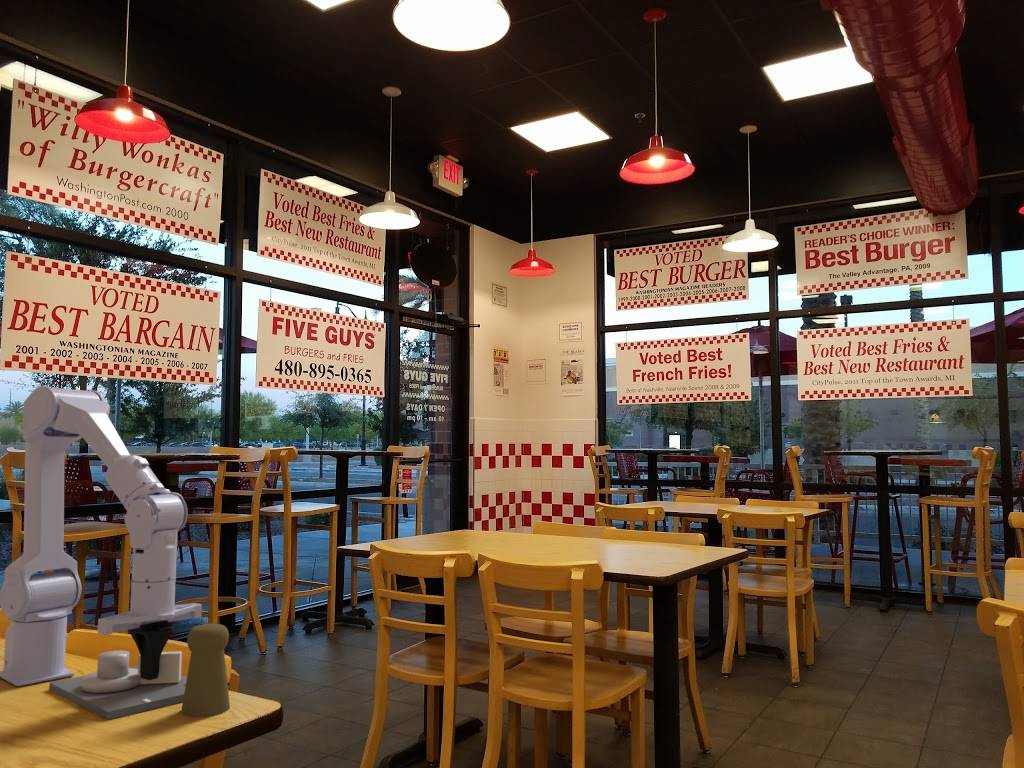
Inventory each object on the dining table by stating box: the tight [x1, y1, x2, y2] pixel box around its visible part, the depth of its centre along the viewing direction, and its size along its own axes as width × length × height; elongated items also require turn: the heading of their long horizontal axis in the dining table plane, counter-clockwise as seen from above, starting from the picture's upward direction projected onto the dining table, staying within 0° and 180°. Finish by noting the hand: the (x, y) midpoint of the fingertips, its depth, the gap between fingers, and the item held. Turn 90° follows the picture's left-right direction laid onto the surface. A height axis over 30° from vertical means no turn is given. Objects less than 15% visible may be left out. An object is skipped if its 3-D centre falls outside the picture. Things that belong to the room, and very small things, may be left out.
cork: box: [180, 623, 231, 718], centre depth 106 cm, size 6×6×11 cm
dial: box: [80, 650, 183, 693], centre depth 114 cm, size 13×8×4 cm, turn 101°
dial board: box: [48, 664, 187, 721], centre depth 113 cm, size 20×14×1 cm
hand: (149, 678), depth 112 cm, fingers closed
